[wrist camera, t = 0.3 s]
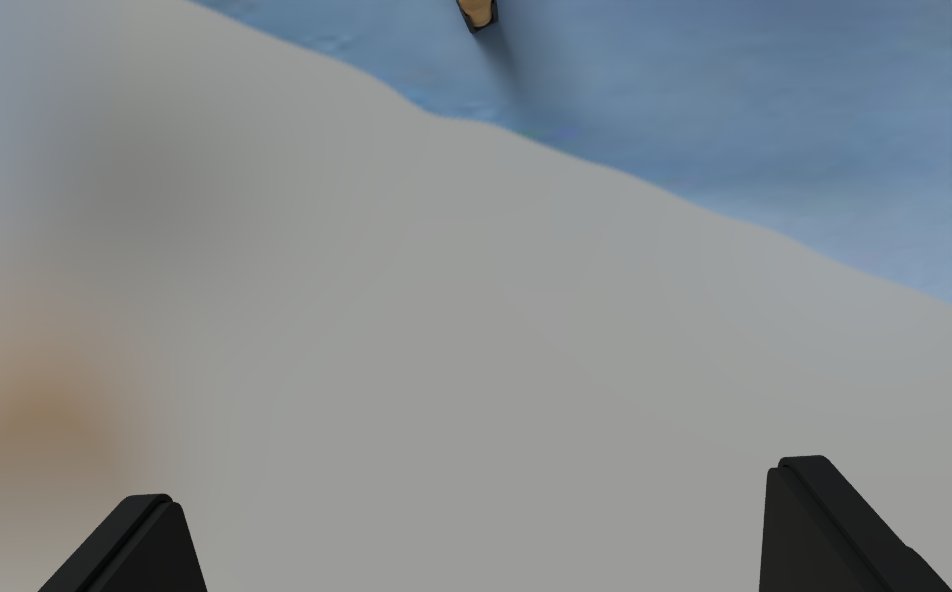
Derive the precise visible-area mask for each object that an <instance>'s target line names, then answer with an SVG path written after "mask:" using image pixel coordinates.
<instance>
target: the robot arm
mask: <svg viewBox="0 0 952 592" xmlns="http://www.w3.org/2000/svg"><path fill="white" fill-rule="evenodd" d="M765 499H766V500H765V513H764V528H763V541H762V556H761V570H760V584H759V592H952V590H951V589H950V588H949V587H948V585H947V584H946V583H945V582H944V581H943V580H942V579H941V578H940V577H939V576H938V574H937V573H936V572H935V571H934V570H933V569H932V568H931V567H930V566H929V565H928V563H927V562H926V561H925V560H924V559H923V558H922V557H921V556H920V555H919V554H918V553H917V552H915V551H914V550H913V549H912V548H910V547H908V546H906V545H905V544H904V543H903V542H902V541H901V540H900V539H899V538H898V536H897V535H896V534H895V533H894V532H893V531H892V530H891V529H890V528H889V526H888V525H887V524H886V523H885V522H884V521H883V520H882V519H881V518H880V517H879V515H878V514H877V513H876V512H875V511H874V510H873V509H872V508H871V506H870V505H869V504H868V503H867V502H866V501H865V500H864V499H863V498H862V496H861V495H860V494H859V493H858V492H857V491H856V490H855V489H854V488H853V486H852V485H851V484H850V483H849V482H848V481H847V480H846V479H845V478H844V476H843V475H842V474H841V473H840V472H839V471H838V470H837V469H836V467H835V466H834V465H833V464H832V463H831V462H830V461H829V460H828V459H827V458H826V457H824V456H821V455H814V456H797V457H784V458H782V459H780V461H779V463H778V467H777V468H770V469H769V471H768V474H767V485H766V498H765ZM38 592H207V589H206V585H205V582H204V579H203V575H202V572H201V569H200V565H199V562H198V559H197V555H196V552H195V549H194V546H193V542H192V539H191V536H190V532H189V529H188V526H187V522H186V519H185V516H184V512H183V509H182V507H181V505H180V504H179V503H176V502H173V500H172V498H171V497H170V496H168V495H167V494H147V495H132V496H128V497H126V498H125V499H124V500H122V501H121V502H120V503H119V505H118V506H117V507H116V508H115V509H114V510H113V511H112V512H111V513H110V514H109V515H108V516H107V517H106V519H105V520H104V521H103V522H102V523H101V524H100V525H99V526H98V527H97V528H96V529H95V530H94V531H93V533H92V534H91V535H90V536H89V537H88V538H87V539H86V540H85V541H84V542H83V543H82V544H81V546H80V547H79V548H78V549H77V550H76V551H75V552H74V553H73V554H72V555H71V556H70V557H69V559H67V561H66V562H65V563H64V564H63V565H62V566H61V567H60V568H59V569H58V570H57V572H55V574H54V575H53V576H52V577H51V578H50V579H49V580H48V581H47V582H46V583H45V584H44V585H43V587H41V589H40V590H39V591H38Z"/></svg>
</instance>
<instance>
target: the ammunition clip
mask: <svg viewBox="0 0 952 592" xmlns="http://www.w3.org/2000/svg"><path fill="white" fill-rule="evenodd" d="M456 2H457V4H458V6H459V9H460V11H461V13H462V16H463V18H464V20H465V22H466V25H467V27H468V29H469V31H470V33H472V34H473V33H475V32H477V31H479V30H481V29H483V28H485V27H487V26H489V25H491V24H493V23H495V22H497V21H498V10H497V1H496V0H456Z"/></svg>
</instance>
